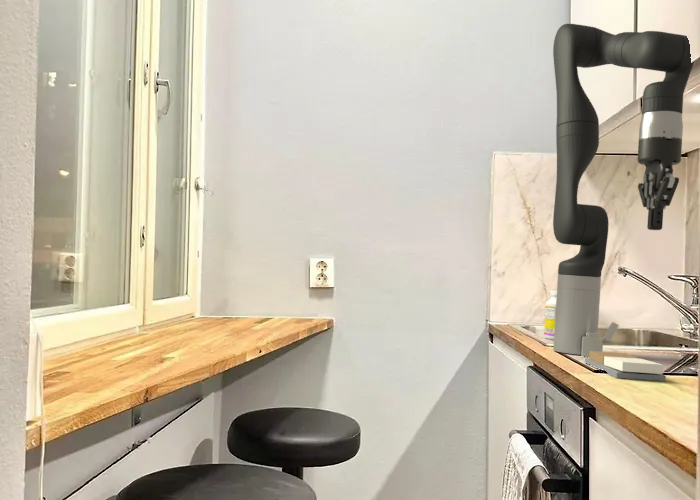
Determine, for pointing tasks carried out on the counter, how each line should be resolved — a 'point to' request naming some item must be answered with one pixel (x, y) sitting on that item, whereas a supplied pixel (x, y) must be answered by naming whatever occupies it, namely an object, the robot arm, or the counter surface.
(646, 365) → the board
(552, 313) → the supplement bottle
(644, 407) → the counter surface
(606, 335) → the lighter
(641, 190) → the robot arm
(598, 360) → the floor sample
